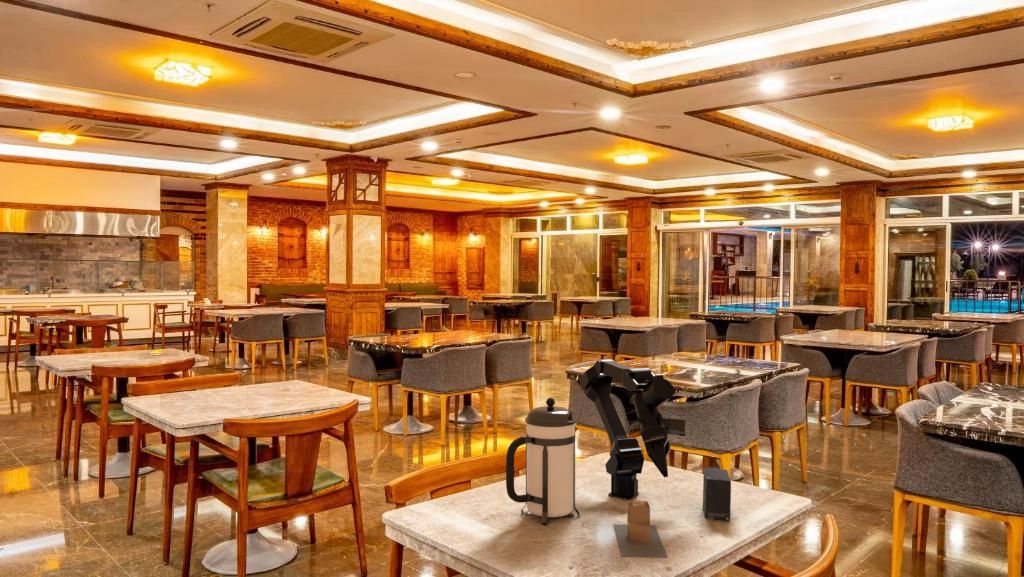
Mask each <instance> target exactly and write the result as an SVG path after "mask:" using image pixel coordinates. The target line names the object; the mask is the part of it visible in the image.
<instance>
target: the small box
mask: <svg viewBox="0 0 1024 577" xmlns="http://www.w3.org/2000/svg"><path fill="white" fill-rule="evenodd" d="M702 472H703V479H702V480H703V483H702V484H703V485H702V486H703V487H702V488H703V489H702V494H703V495H702V506H701V507H702V511H703V516H704V519H709V520H710V519H711V520H713V521H719V522H731V509H732V508H731V506H732V504H731V503H732V501H731V500H732V499H731V498H732V496H731V495H732V494H731V492H732V481H731V480H732V479H731V478H730V475H729V471H728V469H722V468H721V469H720V468H710V467H703V469H702Z"/></svg>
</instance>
